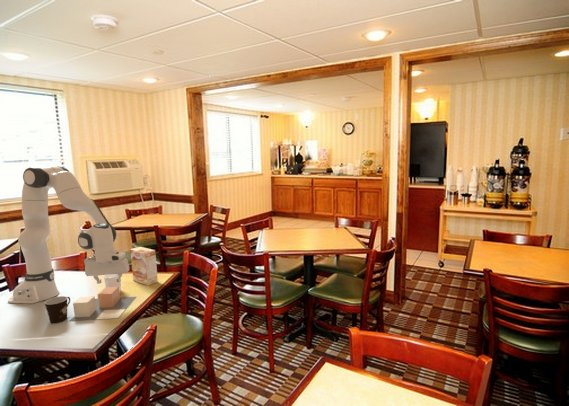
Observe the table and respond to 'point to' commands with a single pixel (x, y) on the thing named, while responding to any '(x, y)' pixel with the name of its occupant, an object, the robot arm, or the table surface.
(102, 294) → the salmon rectangular box
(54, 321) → the coffee mug
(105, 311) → the mat
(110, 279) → the white cup
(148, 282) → the coffeecake box
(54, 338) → the table surface
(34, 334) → the table surface
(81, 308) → the pale beige cube
